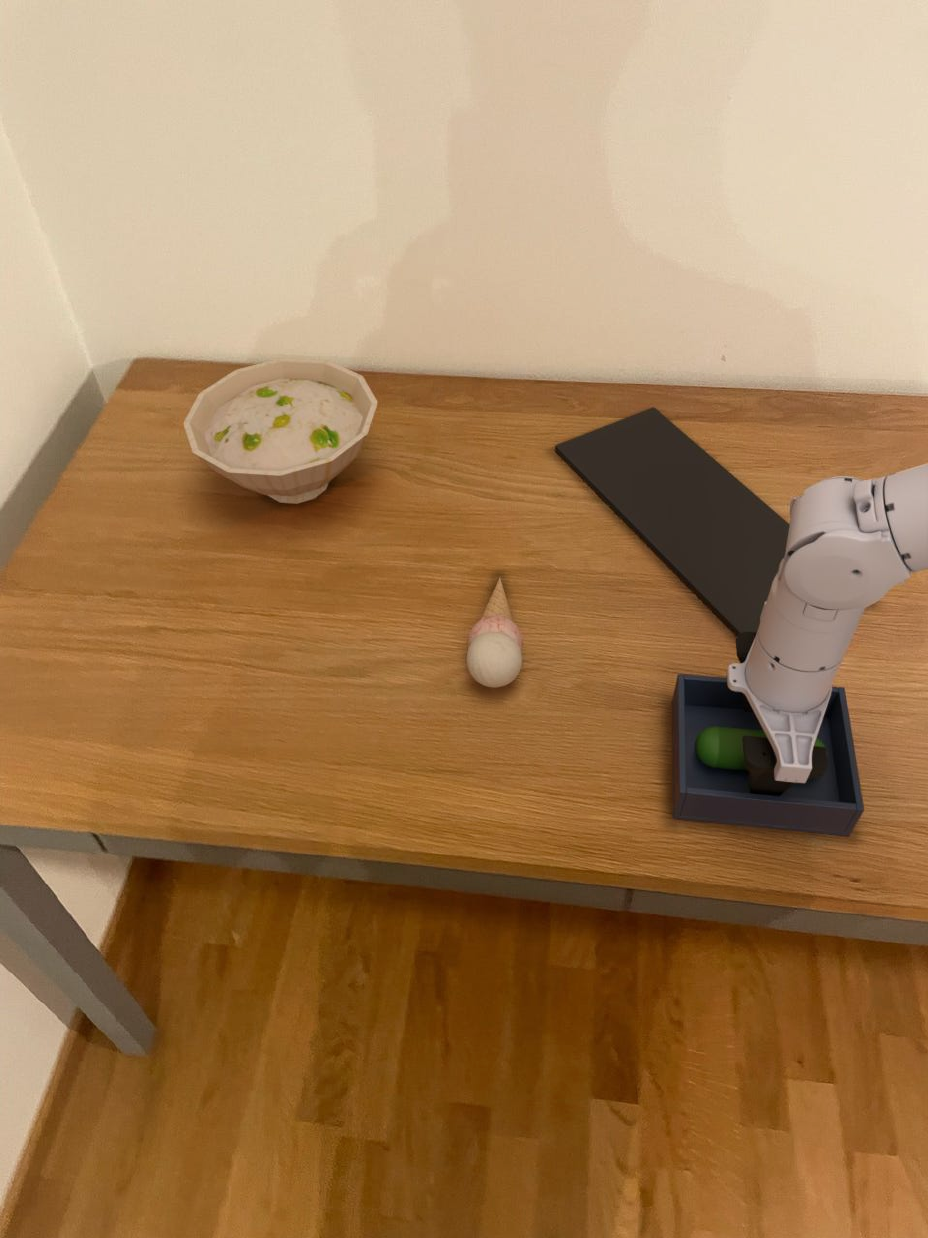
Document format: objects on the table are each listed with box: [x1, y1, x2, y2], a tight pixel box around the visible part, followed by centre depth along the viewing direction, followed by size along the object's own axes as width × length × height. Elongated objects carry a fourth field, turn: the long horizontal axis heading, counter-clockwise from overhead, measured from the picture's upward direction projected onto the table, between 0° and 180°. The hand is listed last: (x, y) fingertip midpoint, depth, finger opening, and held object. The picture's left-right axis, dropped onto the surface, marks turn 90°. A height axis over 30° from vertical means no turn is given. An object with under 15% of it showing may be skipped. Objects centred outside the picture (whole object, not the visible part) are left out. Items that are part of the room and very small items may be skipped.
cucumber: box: [695, 727, 828, 771], centre depth 72 cm, size 10×3×3 cm, turn 82°
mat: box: [554, 406, 790, 637], centre depth 92 cm, size 33×13×1 cm, turn 29°
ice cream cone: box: [465, 577, 524, 688], centre depth 82 cm, size 5×5×15 cm
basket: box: [671, 673, 865, 837], centre depth 72 cm, size 13×11×4 cm
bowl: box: [182, 357, 379, 505], centre depth 95 cm, size 19×19×10 cm
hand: (760, 750), depth 72 cm, fingers open, 7 cm apart
